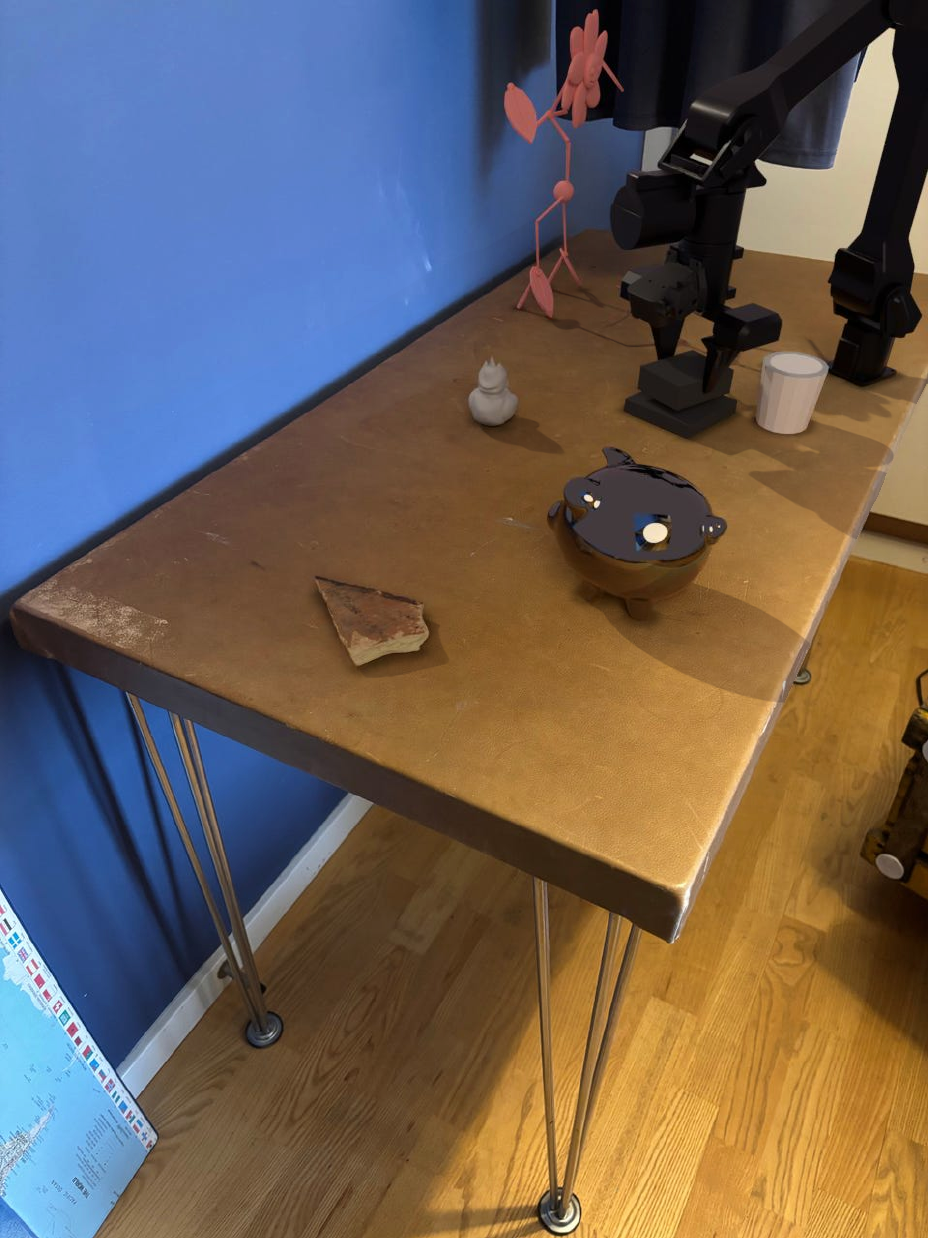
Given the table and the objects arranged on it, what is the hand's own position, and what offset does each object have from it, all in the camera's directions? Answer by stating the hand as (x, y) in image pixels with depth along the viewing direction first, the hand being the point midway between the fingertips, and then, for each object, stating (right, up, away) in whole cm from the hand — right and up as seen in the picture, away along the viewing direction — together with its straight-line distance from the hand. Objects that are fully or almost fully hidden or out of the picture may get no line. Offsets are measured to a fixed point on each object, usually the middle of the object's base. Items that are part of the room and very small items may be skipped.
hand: (684, 380), depth 102 cm
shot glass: (+11, -5, +1) cm, 12 cm away
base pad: (0, -3, +2) cm, 4 cm away
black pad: (0, -1, +1) cm, 1 cm away
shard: (-33, -28, -27) cm, 51 cm away
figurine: (-9, +18, +28) cm, 34 cm away
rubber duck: (-21, -4, +1) cm, 22 cm away
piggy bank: (-11, -24, -23) cm, 35 cm away
